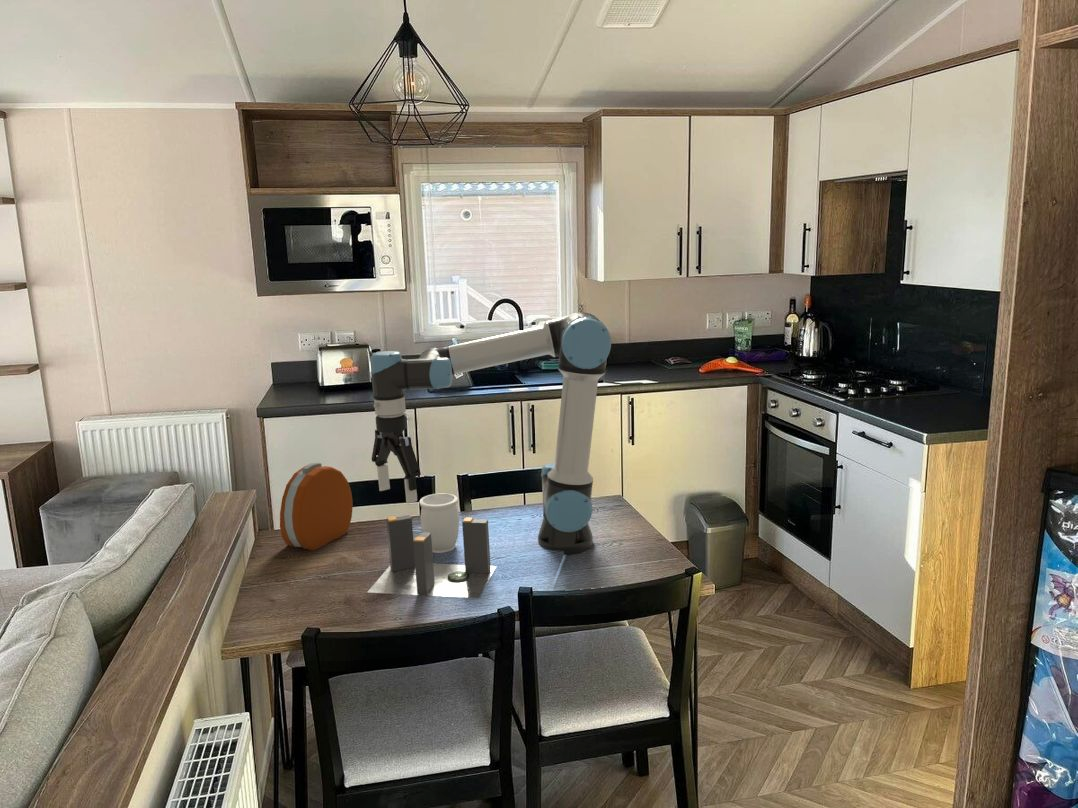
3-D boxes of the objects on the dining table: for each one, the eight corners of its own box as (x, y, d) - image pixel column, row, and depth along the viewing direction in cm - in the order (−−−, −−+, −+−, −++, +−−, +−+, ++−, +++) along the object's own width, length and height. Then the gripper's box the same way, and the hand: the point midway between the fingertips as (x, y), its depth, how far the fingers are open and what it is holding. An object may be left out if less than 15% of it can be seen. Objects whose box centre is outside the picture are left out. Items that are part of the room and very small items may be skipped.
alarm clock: (330, 523, 248) (323, 451, 243) (355, 528, 243) (349, 455, 238) (276, 550, 229) (267, 473, 224) (303, 556, 224) (295, 477, 219)
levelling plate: (496, 570, 210) (496, 563, 210) (479, 602, 193) (478, 594, 193) (393, 566, 215) (392, 558, 215) (367, 596, 198) (366, 589, 198)
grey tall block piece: (490, 569, 208) (487, 518, 205) (488, 573, 206) (485, 521, 203) (467, 568, 209) (464, 517, 206) (465, 572, 207) (462, 520, 204)
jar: (454, 559, 218) (451, 506, 215) (417, 557, 220) (413, 505, 217) (465, 544, 228) (462, 493, 225) (430, 542, 230) (426, 492, 227)
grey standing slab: (425, 583, 201) (421, 530, 198) (434, 584, 201) (430, 530, 198) (417, 594, 196) (413, 540, 192) (427, 595, 195) (423, 540, 192)
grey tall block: (413, 563, 213) (409, 513, 210) (415, 567, 211) (411, 516, 208) (390, 568, 211) (386, 517, 208) (392, 571, 209) (388, 520, 206)
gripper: (353, 409, 209) (361, 488, 214) (403, 425, 190) (410, 511, 195) (379, 404, 214) (386, 481, 218) (430, 419, 195) (437, 503, 200)
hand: (398, 495), depth 207 cm, fingers open, 13 cm apart
